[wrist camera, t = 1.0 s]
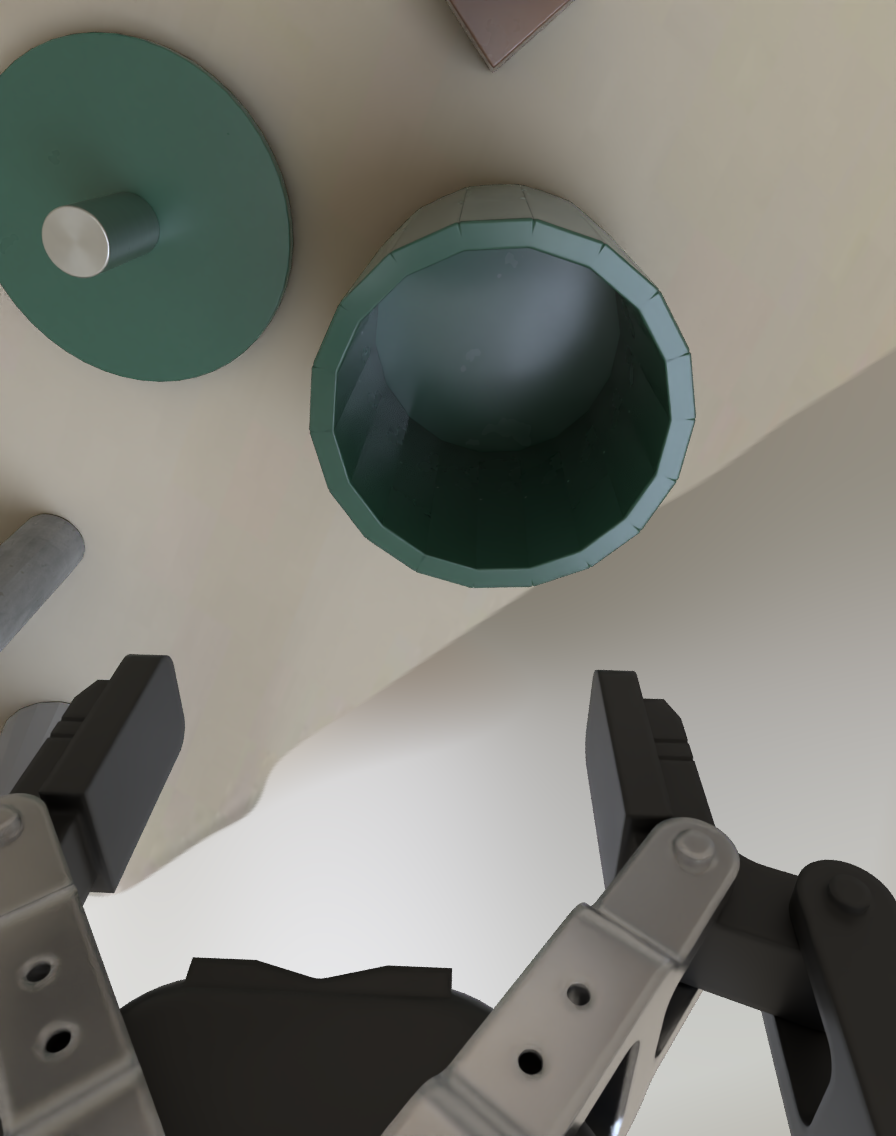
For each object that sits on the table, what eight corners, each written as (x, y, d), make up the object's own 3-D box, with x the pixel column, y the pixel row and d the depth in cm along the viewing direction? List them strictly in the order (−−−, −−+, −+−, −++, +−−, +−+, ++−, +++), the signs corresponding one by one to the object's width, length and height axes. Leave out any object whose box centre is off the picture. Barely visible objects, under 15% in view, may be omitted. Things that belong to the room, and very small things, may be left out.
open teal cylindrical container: (310, 256, 34) (237, 320, 24) (587, 130, 31) (633, 142, 21) (424, 497, 39) (402, 630, 29) (669, 407, 37) (736, 520, 27)
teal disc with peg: (-85, 125, 32) (-200, 129, 27) (191, -33, 29) (124, -63, 24) (102, 415, 38) (39, 466, 33) (349, 308, 35) (324, 344, 30)
